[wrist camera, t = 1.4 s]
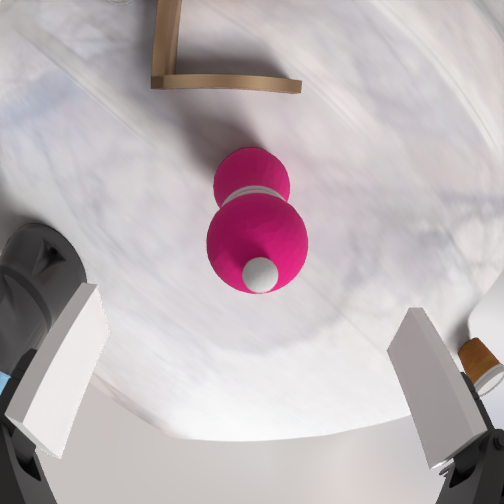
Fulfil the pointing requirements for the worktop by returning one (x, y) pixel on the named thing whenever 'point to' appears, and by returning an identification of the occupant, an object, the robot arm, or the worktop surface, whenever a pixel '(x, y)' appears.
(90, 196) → the worktop surface
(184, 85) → the u rest
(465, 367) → the disposable coffee cup
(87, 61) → the worktop surface
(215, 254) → the pepper mill
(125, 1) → the screw
